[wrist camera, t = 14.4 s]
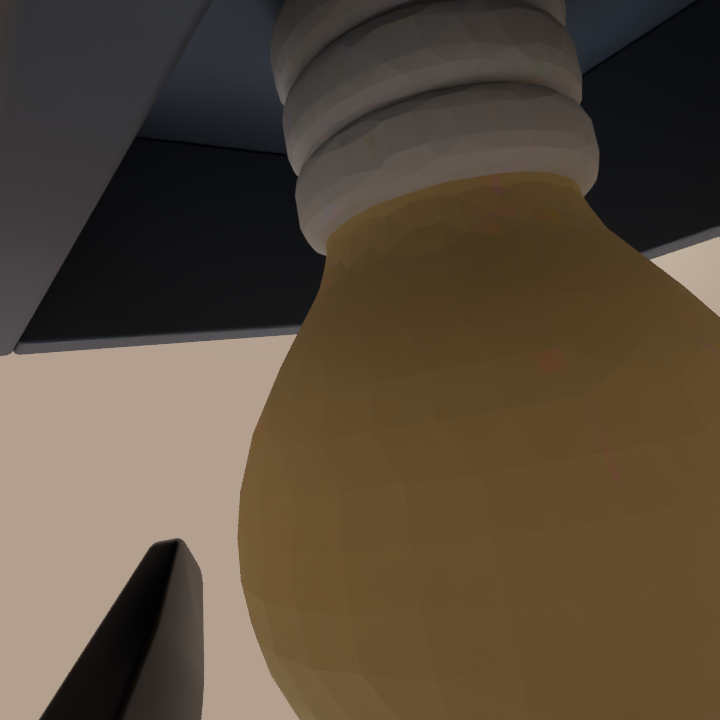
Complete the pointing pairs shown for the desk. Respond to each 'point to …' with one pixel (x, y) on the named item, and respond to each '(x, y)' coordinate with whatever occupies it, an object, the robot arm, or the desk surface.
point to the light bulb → (476, 395)
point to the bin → (269, 162)
